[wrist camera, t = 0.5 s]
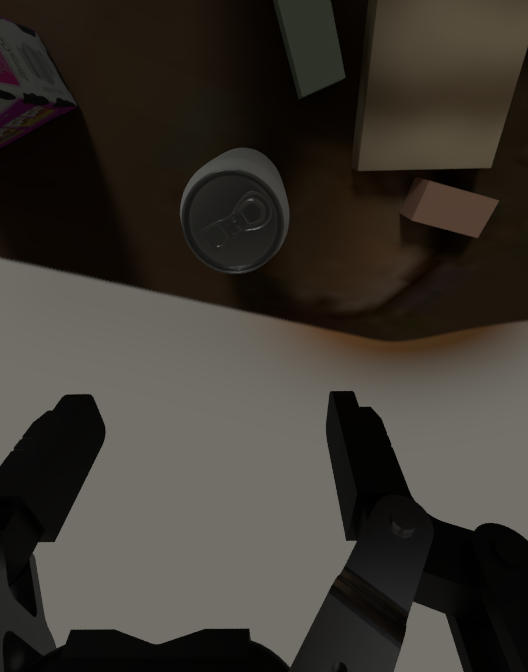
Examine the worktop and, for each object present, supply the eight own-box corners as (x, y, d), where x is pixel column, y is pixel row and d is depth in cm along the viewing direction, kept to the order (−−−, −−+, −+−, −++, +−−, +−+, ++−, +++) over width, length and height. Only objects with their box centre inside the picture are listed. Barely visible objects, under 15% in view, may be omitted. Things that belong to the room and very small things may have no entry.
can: (296, 203, 29) (313, 244, 19) (235, 242, 31) (220, 299, 21) (255, 128, 26) (249, 129, 16) (190, 177, 28) (148, 206, 18)
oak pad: (368, -1, 22) (379, -14, 20) (520, -6, 22) (547, -20, 20) (350, 167, 27) (357, 171, 25) (473, 164, 27) (490, 167, 25)
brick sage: (271, -4, 22) (272, -21, 20) (315, -26, 22) (321, -46, 19) (298, 99, 25) (302, 96, 23) (337, 82, 25) (345, 77, 22)
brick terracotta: (398, 212, 30) (411, 220, 27) (414, 176, 28) (429, 180, 25) (459, 228, 30) (477, 238, 28) (478, 194, 29) (499, 200, 26)
